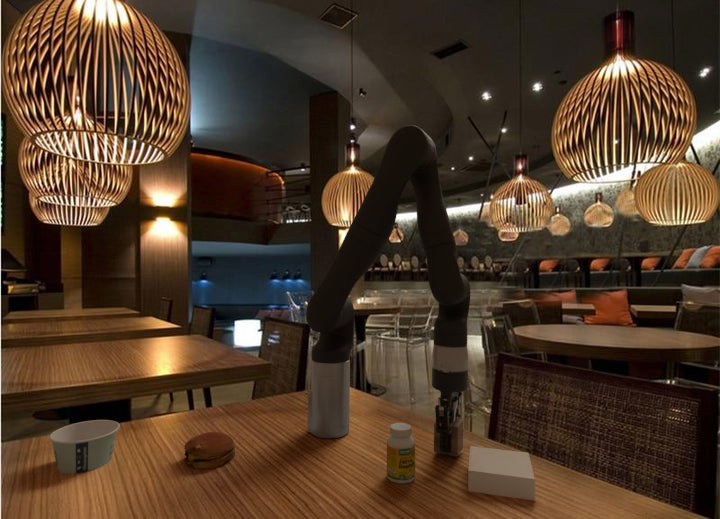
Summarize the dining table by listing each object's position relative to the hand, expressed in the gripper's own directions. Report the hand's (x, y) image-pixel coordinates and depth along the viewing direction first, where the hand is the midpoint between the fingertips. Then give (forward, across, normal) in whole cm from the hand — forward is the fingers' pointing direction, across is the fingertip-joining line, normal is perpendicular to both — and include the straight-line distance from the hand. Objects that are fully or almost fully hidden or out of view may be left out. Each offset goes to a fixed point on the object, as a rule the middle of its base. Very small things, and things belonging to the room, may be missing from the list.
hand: (448, 445), depth 92 cm
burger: (+3, +24, -44) cm, 50 cm away
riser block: (+2, +7, +11) cm, 14 cm away
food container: (+3, +36, -65) cm, 74 cm away
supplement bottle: (+2, +14, -6) cm, 15 cm away
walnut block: (+1, 0, 0) cm, 1 cm away
